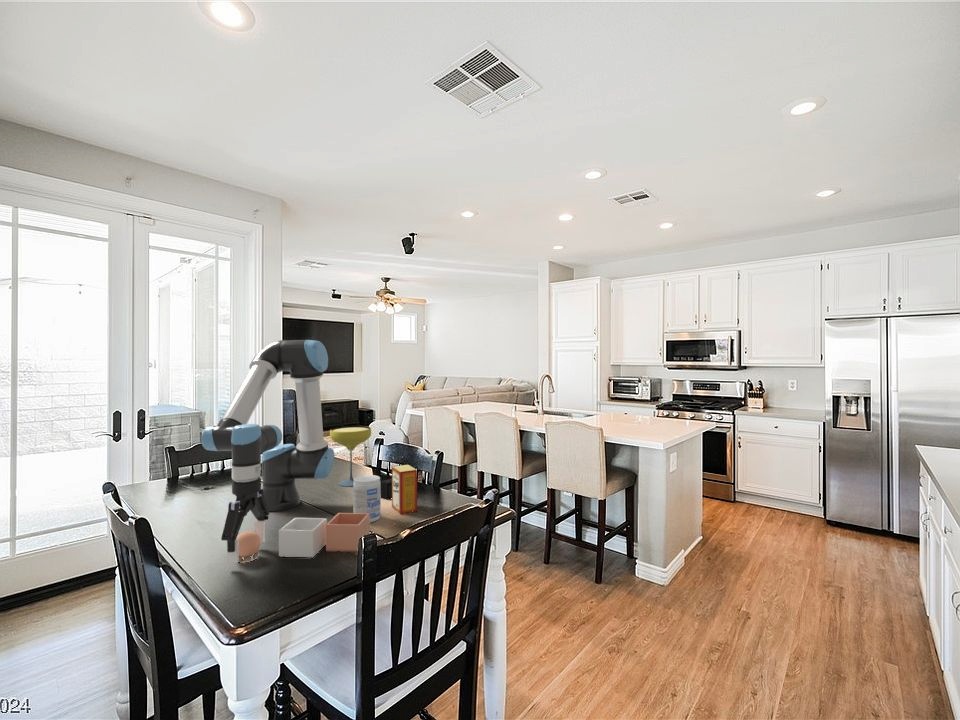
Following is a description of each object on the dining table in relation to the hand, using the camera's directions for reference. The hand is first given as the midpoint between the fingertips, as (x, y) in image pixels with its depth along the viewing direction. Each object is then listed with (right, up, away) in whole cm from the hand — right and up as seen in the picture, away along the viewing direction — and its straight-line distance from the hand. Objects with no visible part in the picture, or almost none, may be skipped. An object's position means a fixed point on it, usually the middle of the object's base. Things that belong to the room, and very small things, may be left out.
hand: (247, 552), depth 133 cm
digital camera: (+32, -1, +58) cm, 66 cm away
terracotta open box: (+27, -2, +10) cm, 28 cm away
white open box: (+14, -2, +5) cm, 15 cm away
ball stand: (0, -2, 0) cm, 2 cm away
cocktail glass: (+9, -1, +77) cm, 77 cm away
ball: (0, +2, 0) cm, 2 cm away
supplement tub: (+27, -2, +32) cm, 42 cm away
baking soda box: (+39, -1, +42) cm, 57 cm away
